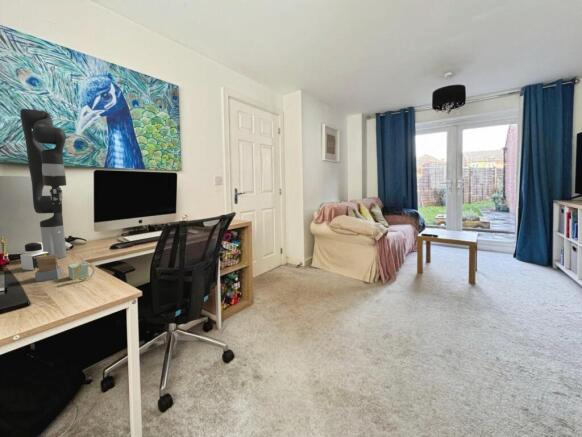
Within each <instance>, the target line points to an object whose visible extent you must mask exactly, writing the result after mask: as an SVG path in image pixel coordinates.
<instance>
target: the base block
mask: <svg viewBox="0 0 582 437" xmlns="http://www.w3.org/2000/svg"><path fill="white" fill-rule="evenodd" d="M62 274H63V273H62V266H61V265H58V268H57V270H53V271H46V272H39V269H38V270H36V271H35V272H34V276H35V278H34V279H35V283H37V282H46V281H53V280H59V279H60V277H61V276H62Z"/></svg>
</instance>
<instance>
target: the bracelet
mask: <svg viewBox="0 0 582 437" xmlns="http://www.w3.org/2000/svg"><path fill="white" fill-rule="evenodd" d="M82 262H83V263H82ZM79 263H80V264H78V265H77V266H76V268H75V270H74V276H75V277H76V278H77V279H76V280H78V281H85V282H86V281H88V280H90V279H91V278H93V277H94V275H95V272H96V269H95V266H94V264H91V263H89V262H88V261H86V262H85V261H81V262H79ZM85 265H87V266H88V267H90V268H91V269H92V272H91V275H89V277H85V278H79V277H77V275H76V273H77V271H78V270H79V269H80V268H81V267H83V266H85Z"/></svg>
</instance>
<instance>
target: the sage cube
mask: <svg viewBox="0 0 582 437" xmlns="http://www.w3.org/2000/svg"><path fill="white" fill-rule="evenodd" d="M81 262H82V263H83V262H84V261H81ZM81 262H77V263H73V264H68V265H67V272H68V277H69V278H70V280H72V281H76V280H78V279H77V278H76V277H75V276H74V270H75V268H76V266H77V265H78V264H80V263H81ZM76 275H77V277H79V278H81V279H84V278H88V277H90V275H89V266H87V265H85V266H83V267H81V268H80V269H79V270H78V271H77V273H76Z"/></svg>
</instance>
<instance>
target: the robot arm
mask: <svg viewBox="0 0 582 437" xmlns="http://www.w3.org/2000/svg"><path fill="white" fill-rule="evenodd" d="M19 116H20V122H21V126H22V130H23V136H24V140H25V147H26V154H27V155H26V156H27V164H28V168H29V169H28V170H29V175H30V181H31V188H32V190H31V191H32V205H33V209H34V211H35V213H36V214H52V216H51V217H49V218H47V219H46V218H45V219H44V220H41V221H39V228H40V235H41V243H42V245H43V251H42V252H48V253H49V255H57V260H58V259H63V258H65V257H67V248H66V247H67V246H66V237H65V230H64V229H65V228H64V218H63V189H62V188H61V187H65V186H67V177H66V171H65V170H66V169H65V165H64V157H63V156H64V155H63V154H64V148H65V143H66V139H67V135H66V132H65V131H64V129H62V128H60V127H55V126H54V122H53V120H52V119H53V118H52V116H51V115H50V113H49V112H48V111H45V110H39V109H31V108H21V109H20V113H19ZM42 144H46V145H47V144H48V145H55V147H54V148H49V149H46V148H45V147H44V146H43V145H42ZM44 187H51V189H50V190H49V194H50V195H43V189H44Z"/></svg>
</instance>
